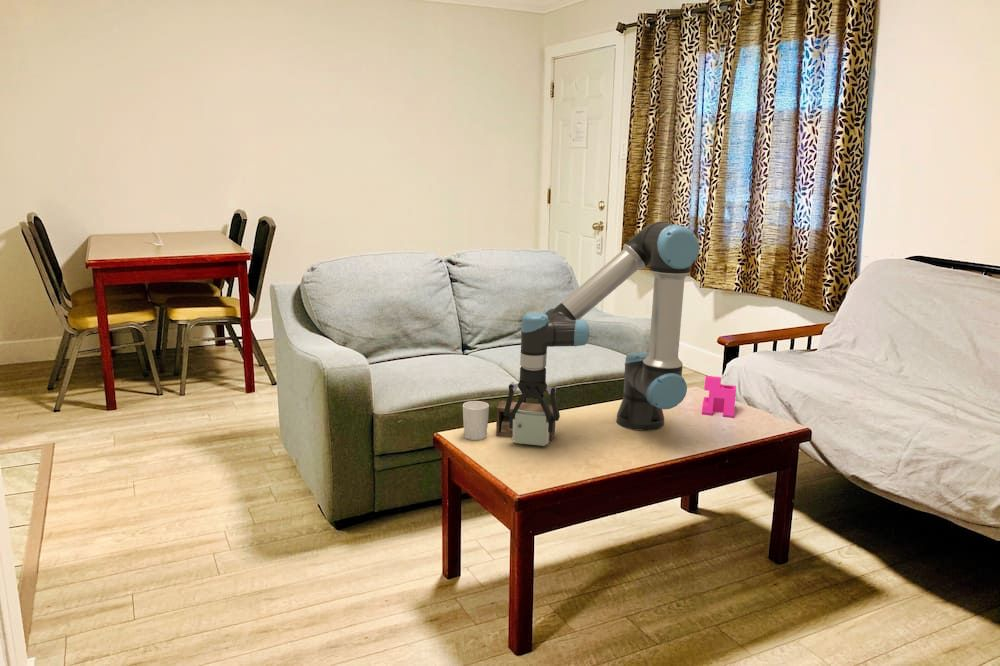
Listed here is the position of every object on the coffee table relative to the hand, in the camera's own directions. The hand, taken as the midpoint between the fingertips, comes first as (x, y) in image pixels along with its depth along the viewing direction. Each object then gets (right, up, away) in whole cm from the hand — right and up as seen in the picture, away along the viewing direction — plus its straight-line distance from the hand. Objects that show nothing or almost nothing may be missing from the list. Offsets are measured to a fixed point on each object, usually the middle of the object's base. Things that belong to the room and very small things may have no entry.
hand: (530, 440), depth 225 cm
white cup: (-17, 0, +7) cm, 18 cm away
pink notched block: (+65, +5, +34) cm, 74 cm away
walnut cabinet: (-1, 0, +8) cm, 8 cm away
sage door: (0, 0, 0) cm, 1 cm away
